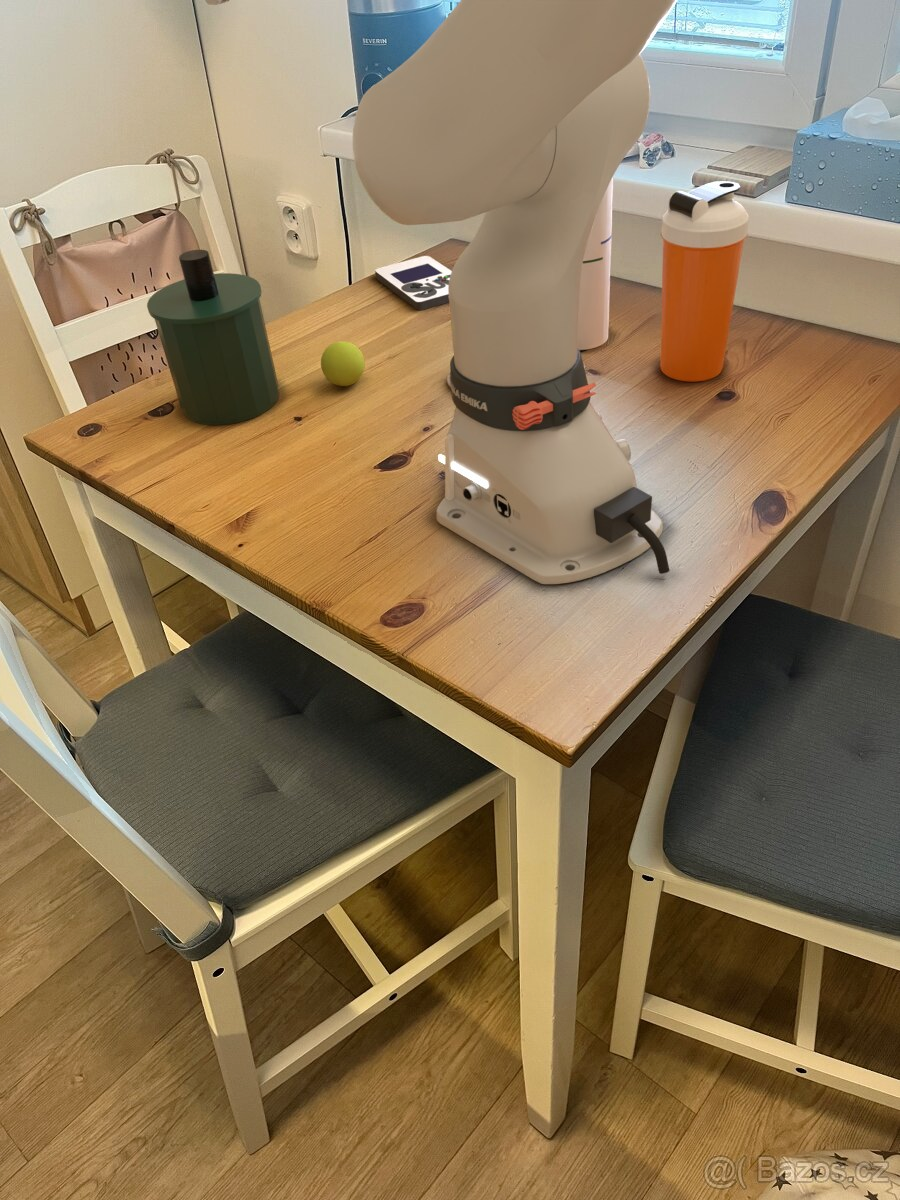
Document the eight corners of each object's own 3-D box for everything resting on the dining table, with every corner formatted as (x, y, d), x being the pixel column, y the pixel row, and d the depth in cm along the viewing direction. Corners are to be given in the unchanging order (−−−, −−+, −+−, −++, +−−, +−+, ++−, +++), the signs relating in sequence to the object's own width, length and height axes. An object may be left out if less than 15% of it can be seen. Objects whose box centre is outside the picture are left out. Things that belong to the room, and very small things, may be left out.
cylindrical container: (619, 333, 118) (628, 116, 102) (586, 354, 114) (590, 133, 98) (573, 320, 122) (574, 109, 106) (539, 341, 118) (535, 125, 102)
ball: (374, 384, 113) (368, 344, 109) (335, 398, 111) (328, 357, 108) (355, 369, 116) (349, 329, 113) (317, 382, 114) (310, 342, 111)
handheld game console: (428, 262, 141) (427, 253, 140) (475, 294, 131) (474, 285, 130) (374, 277, 139) (373, 268, 138) (418, 311, 128) (417, 301, 127)
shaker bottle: (747, 367, 108) (771, 187, 96) (694, 394, 105) (712, 210, 92) (688, 344, 114) (703, 171, 101) (636, 368, 110) (645, 192, 98)
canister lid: (280, 307, 103) (269, 256, 99) (169, 340, 98) (154, 287, 95) (239, 274, 111) (228, 225, 108) (136, 303, 107) (121, 253, 103)
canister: (294, 404, 111) (272, 302, 102) (201, 435, 107) (171, 332, 98) (258, 369, 118) (235, 271, 110) (170, 397, 114) (140, 298, 106)
